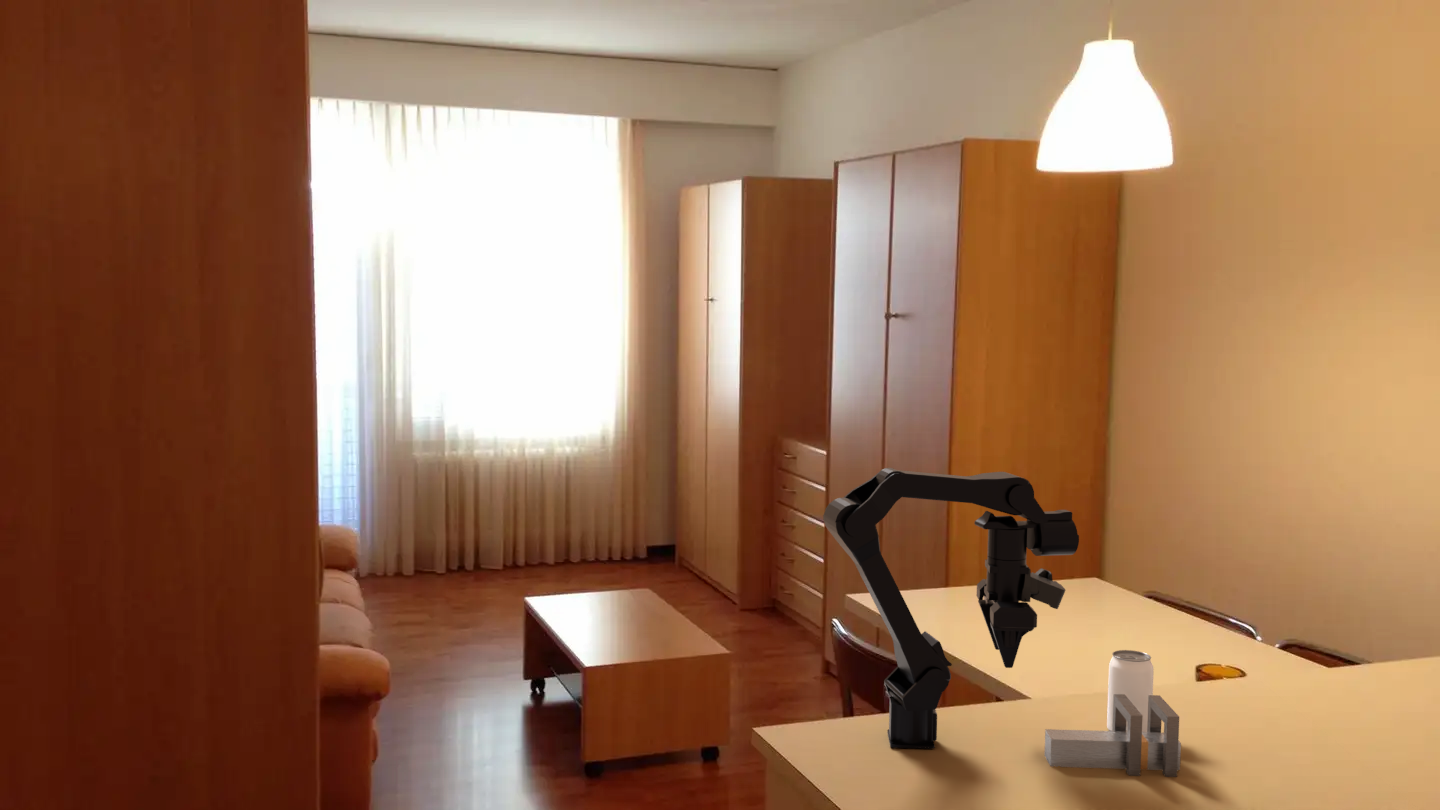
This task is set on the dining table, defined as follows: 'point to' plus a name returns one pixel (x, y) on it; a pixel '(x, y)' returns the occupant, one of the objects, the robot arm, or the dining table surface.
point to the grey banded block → (1101, 749)
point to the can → (1130, 682)
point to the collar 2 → (1165, 731)
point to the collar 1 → (1129, 731)
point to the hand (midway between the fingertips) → (1003, 658)
